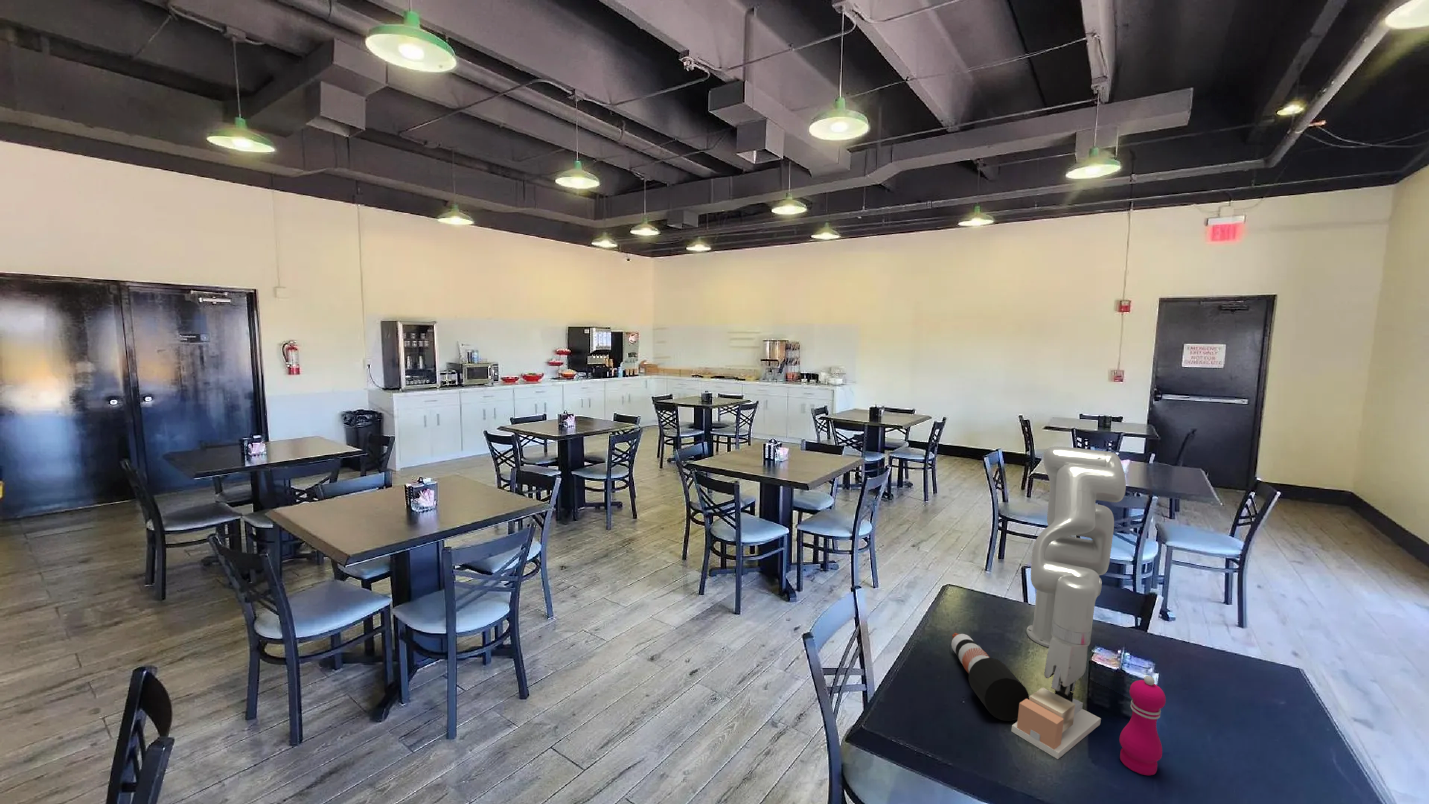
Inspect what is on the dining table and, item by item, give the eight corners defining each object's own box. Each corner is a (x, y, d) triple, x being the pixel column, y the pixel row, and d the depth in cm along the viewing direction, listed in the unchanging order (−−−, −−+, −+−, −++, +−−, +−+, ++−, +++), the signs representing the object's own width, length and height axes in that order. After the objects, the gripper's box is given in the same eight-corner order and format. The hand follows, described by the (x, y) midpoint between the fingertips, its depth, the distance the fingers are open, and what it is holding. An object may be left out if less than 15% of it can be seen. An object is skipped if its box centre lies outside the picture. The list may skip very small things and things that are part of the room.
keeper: (1040, 707, 134) (1042, 687, 133) (1072, 724, 128) (1075, 704, 128) (1027, 716, 131) (1029, 696, 130) (1059, 734, 125) (1062, 713, 124)
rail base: (1055, 700, 142) (1058, 672, 141) (1100, 724, 133) (1103, 694, 132) (1011, 731, 130) (1014, 700, 129) (1057, 759, 122) (1061, 727, 121)
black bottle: (962, 659, 166) (980, 630, 166) (1015, 728, 133) (1037, 692, 132) (931, 642, 167) (949, 612, 166) (976, 706, 133) (998, 670, 132)
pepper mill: (1108, 752, 125) (1119, 666, 122) (1139, 751, 125) (1151, 665, 123) (1135, 778, 117) (1148, 688, 115) (1168, 777, 118) (1181, 687, 115)
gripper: (1069, 615, 137) (1060, 686, 140) (1037, 633, 129) (1029, 709, 131) (1104, 629, 131) (1095, 703, 133) (1073, 649, 122) (1064, 728, 125)
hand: (1062, 706), depth 132 cm, fingers closed
